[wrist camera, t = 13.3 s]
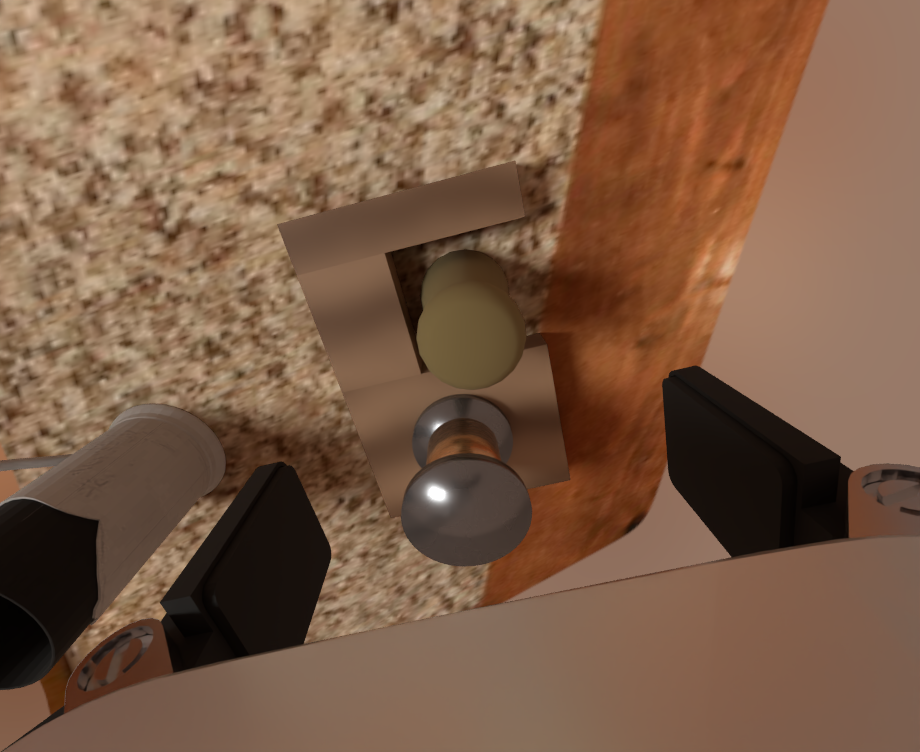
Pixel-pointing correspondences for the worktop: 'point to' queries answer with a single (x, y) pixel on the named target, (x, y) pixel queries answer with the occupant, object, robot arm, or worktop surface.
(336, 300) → the notched board
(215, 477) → the glass holder
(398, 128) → the worktop surface
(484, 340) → the cork
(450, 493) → the bobbin
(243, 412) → the worktop surface
